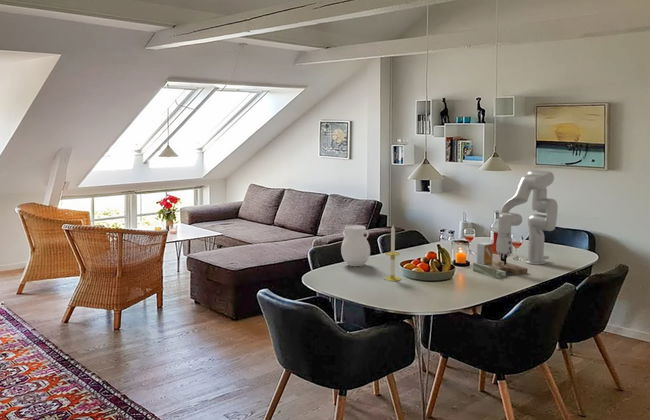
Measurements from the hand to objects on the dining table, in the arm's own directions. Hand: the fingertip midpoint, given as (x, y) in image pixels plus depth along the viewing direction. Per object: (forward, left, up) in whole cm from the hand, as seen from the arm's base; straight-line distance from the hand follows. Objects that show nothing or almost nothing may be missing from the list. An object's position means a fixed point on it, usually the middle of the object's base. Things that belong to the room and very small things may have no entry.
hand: (503, 264), depth 391 cm
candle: (+69, -16, -5) cm, 71 cm away
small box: (-5, -23, -5) cm, 24 cm away
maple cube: (+4, 0, -2) cm, 4 cm away
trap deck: (+2, 0, -5) cm, 5 cm away
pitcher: (+72, -56, -5) cm, 91 cm away
